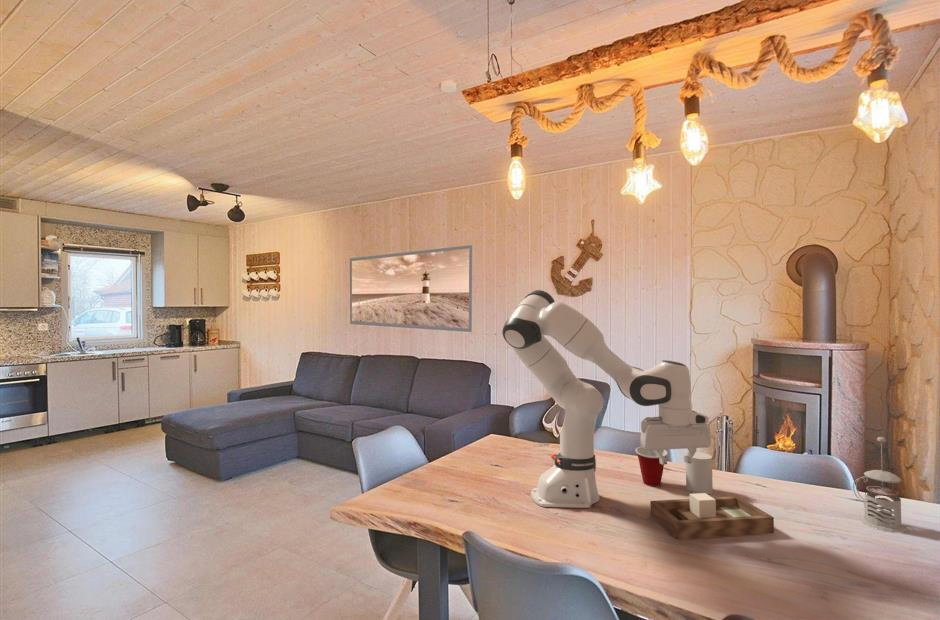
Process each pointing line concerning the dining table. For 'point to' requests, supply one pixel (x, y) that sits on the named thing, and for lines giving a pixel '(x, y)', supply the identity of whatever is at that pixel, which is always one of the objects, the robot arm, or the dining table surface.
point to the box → (712, 519)
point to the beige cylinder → (699, 474)
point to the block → (702, 505)
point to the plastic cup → (650, 466)
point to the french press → (882, 501)
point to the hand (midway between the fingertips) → (675, 463)
